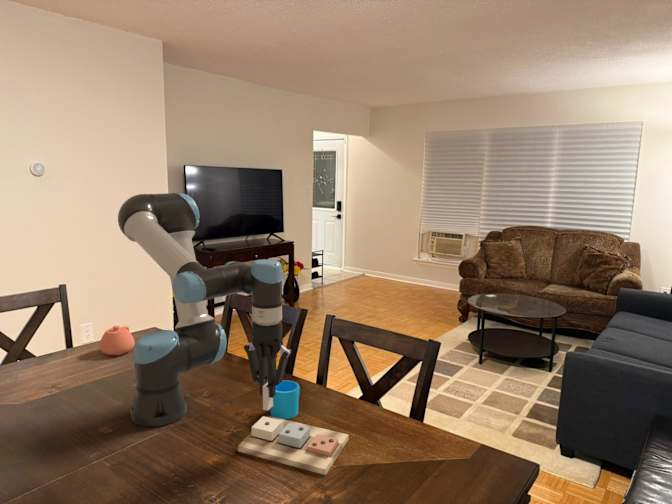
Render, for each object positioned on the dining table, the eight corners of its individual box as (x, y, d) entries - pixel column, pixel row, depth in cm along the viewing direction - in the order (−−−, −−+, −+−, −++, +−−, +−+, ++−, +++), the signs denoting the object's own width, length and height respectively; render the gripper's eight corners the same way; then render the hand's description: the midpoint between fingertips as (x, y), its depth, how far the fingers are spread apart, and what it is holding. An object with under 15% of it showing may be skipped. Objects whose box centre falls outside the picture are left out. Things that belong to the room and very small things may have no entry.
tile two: (278, 442, 120) (278, 433, 120) (289, 431, 126) (289, 421, 125) (300, 448, 118) (300, 438, 117) (309, 436, 123) (310, 426, 123)
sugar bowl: (92, 356, 176) (90, 330, 174) (115, 343, 189) (114, 318, 188) (122, 359, 174) (120, 332, 172) (143, 345, 187) (142, 321, 186)
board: (237, 451, 119) (237, 445, 119) (269, 420, 134) (269, 415, 133) (325, 475, 110) (325, 469, 110) (348, 439, 125) (348, 434, 125)
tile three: (307, 455, 118) (307, 445, 117) (316, 442, 123) (317, 433, 123) (329, 461, 115) (329, 451, 115) (338, 448, 121) (338, 438, 120)
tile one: (251, 435, 123) (251, 426, 122) (263, 424, 128) (263, 415, 128) (271, 441, 121) (271, 431, 120) (282, 429, 126) (282, 420, 126)
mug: (288, 422, 133) (288, 395, 132) (264, 414, 137) (264, 388, 136) (310, 404, 144) (310, 379, 142) (288, 397, 147) (288, 373, 146)
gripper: (236, 322, 118) (238, 409, 122) (283, 328, 113) (283, 419, 117) (252, 313, 125) (253, 396, 129) (296, 320, 120) (296, 405, 124)
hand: (268, 407), depth 123 cm, fingers closed
